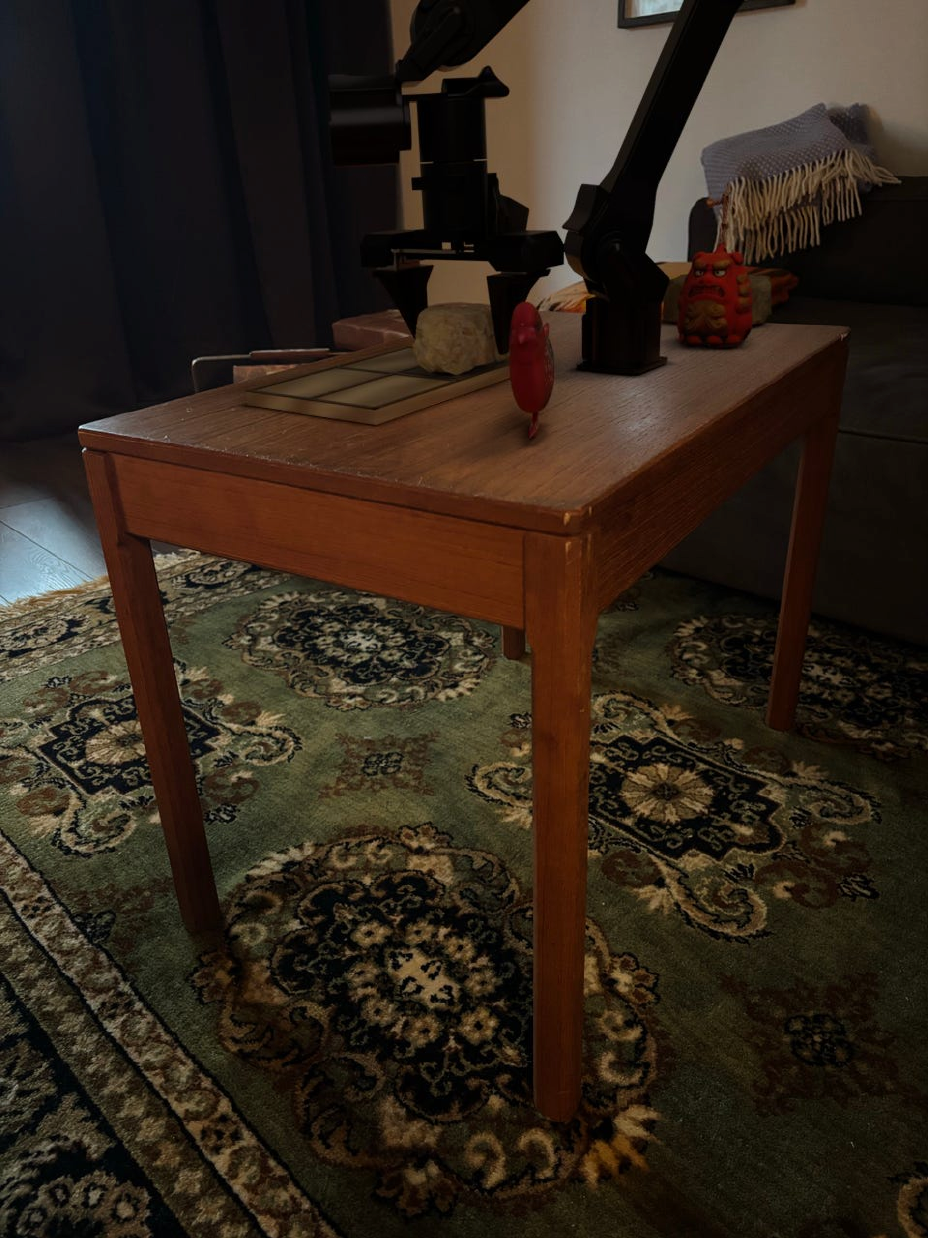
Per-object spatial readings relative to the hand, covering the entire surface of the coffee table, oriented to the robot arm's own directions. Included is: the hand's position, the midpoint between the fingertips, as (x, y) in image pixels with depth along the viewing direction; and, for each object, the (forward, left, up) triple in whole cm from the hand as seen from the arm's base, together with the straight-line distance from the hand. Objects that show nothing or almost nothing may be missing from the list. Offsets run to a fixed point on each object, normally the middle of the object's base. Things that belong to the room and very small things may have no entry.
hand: (462, 350), depth 88 cm
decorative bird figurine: (-15, +11, -3) cm, 19 cm away
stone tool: (0, 0, -2) cm, 2 cm away
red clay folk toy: (-14, -24, -3) cm, 28 cm away
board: (+4, +6, -3) cm, 7 cm away
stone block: (-9, -36, -3) cm, 38 cm away
